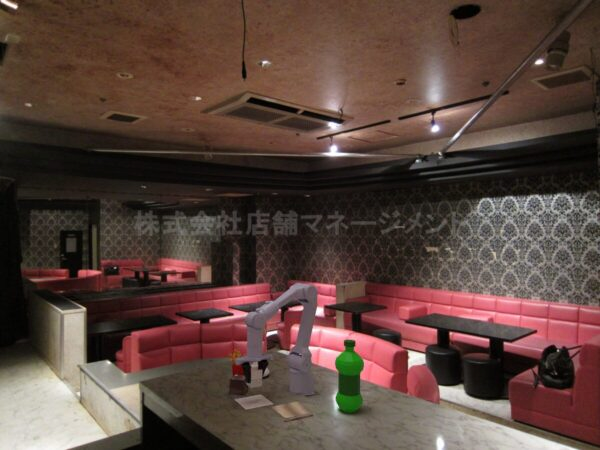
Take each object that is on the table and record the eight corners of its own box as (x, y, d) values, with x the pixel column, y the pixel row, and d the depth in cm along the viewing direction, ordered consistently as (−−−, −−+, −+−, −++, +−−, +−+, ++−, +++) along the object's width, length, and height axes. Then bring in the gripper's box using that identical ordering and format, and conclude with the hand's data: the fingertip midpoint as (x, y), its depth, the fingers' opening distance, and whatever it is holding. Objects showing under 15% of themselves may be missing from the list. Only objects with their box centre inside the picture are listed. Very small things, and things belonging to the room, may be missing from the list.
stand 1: (260, 398, 164) (260, 394, 164) (273, 408, 155) (273, 404, 155) (234, 403, 159) (234, 399, 159) (245, 413, 149) (245, 409, 149)
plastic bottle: (346, 402, 161) (347, 336, 162) (368, 410, 154) (369, 341, 155) (329, 409, 154) (329, 340, 155) (351, 418, 147) (352, 345, 148)
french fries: (248, 384, 180) (249, 348, 181) (247, 391, 172) (247, 353, 172) (228, 384, 180) (229, 348, 180) (225, 391, 171) (226, 353, 172)
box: (243, 399, 163) (243, 380, 163) (228, 398, 164) (229, 378, 164) (248, 394, 169) (249, 375, 169) (234, 392, 170) (234, 374, 170)
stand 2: (297, 405, 157) (297, 401, 157) (313, 416, 148) (313, 411, 148) (271, 411, 152) (271, 406, 152) (285, 422, 142) (285, 418, 142)
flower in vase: (268, 380, 186) (269, 323, 187) (242, 379, 186) (243, 322, 187) (270, 371, 199) (271, 317, 200) (246, 370, 199) (247, 317, 200)
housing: (257, 382, 160) (257, 366, 160) (262, 386, 156) (262, 369, 156) (246, 384, 158) (246, 368, 158) (251, 388, 154) (251, 371, 154)
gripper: (240, 349, 150) (240, 387, 150) (276, 344, 158) (276, 381, 157) (233, 345, 156) (232, 382, 156) (268, 340, 164) (268, 376, 163)
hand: (254, 381), depth 157 cm, fingers closed on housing, 4 cm apart
